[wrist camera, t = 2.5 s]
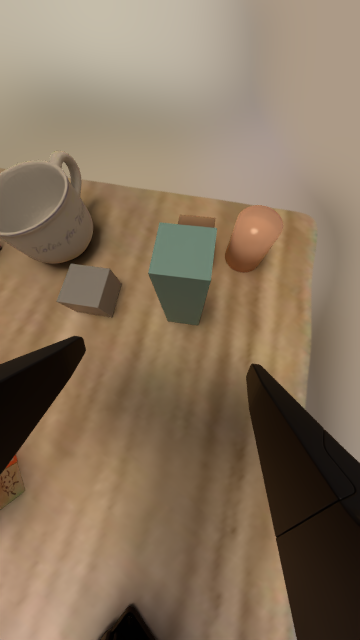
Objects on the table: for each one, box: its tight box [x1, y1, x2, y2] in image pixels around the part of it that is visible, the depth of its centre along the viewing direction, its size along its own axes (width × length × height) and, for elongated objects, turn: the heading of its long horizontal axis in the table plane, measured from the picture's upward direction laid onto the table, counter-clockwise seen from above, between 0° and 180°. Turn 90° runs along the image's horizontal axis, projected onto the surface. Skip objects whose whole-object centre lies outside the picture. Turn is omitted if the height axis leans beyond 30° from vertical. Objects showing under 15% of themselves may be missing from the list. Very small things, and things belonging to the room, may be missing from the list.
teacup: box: [0, 151, 93, 264], centre depth 23 cm, size 14×11×8 cm
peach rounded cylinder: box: [225, 205, 283, 272], centre depth 22 cm, size 5×5×6 cm
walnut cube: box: [178, 215, 216, 228], centre depth 23 cm, size 4×4×4 cm
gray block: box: [57, 264, 121, 317], centre depth 22 cm, size 5×5×4 cm
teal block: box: [148, 223, 217, 325], centre depth 17 cm, size 4×4×12 cm
